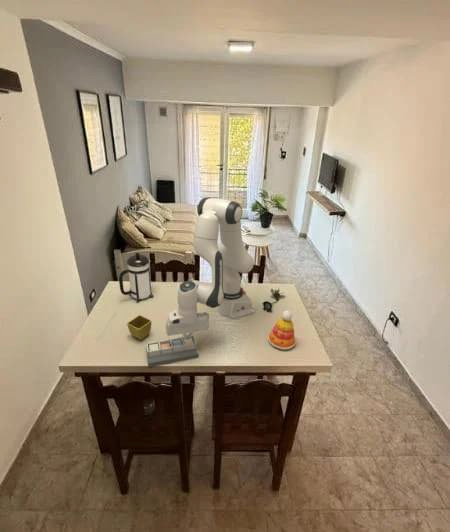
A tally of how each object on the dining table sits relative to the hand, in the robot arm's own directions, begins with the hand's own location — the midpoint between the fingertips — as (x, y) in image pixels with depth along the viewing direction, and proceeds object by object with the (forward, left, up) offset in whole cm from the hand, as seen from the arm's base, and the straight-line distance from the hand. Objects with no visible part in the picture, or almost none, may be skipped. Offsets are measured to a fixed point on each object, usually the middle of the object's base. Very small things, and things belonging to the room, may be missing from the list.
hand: (187, 338), depth 147 cm
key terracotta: (+11, 0, -6) cm, 12 cm away
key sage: (+16, 0, -5) cm, 17 cm away
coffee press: (+19, -53, -7) cm, 57 cm away
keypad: (+8, 0, -7) cm, 10 cm away
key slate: (+5, 0, -5) cm, 7 cm away
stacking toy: (-48, +7, -7) cm, 49 cm away
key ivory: (0, 0, -5) cm, 5 cm away
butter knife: (+38, -29, -7) cm, 48 cm away
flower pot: (+21, -16, -7) cm, 28 cm away
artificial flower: (-59, -28, -7) cm, 66 cm away
